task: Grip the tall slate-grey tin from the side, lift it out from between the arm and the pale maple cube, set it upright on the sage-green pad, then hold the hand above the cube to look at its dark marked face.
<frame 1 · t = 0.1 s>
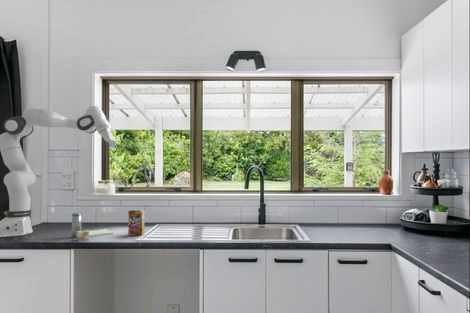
hand: (114, 147, 217), 54 cm above the counter, tool tilted 30°, fingers open, 8 cm apart
maple cube: (82, 240, 187), on the counter
pad: (97, 233, 205), on the counter
candy box: (136, 235, 201), on the counter
tin: (76, 237, 195), on the counter
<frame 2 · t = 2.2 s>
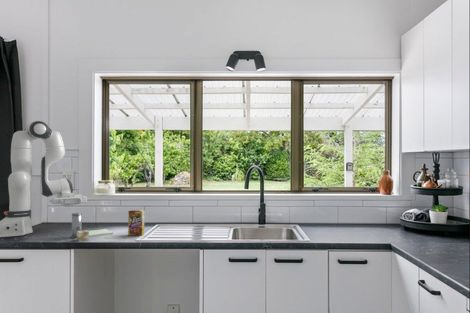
hand: (72, 201, 204), 20 cm above the counter, tool horizontal, fingers open, 8 cm apart
nothing on the counter moved.
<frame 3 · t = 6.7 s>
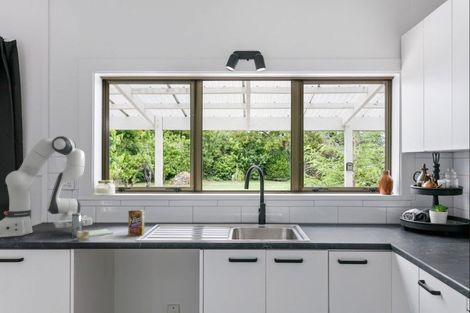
hand: (77, 224, 194), 8 cm above the counter, tool horizontal, fingers closed on tin, 5 cm apart
tin: (76, 237, 195), on the counter, touching gripper
everything else where it was.
when the fingers open (10 cm above the counter, at t = 11.2 s): tin drops 1 cm, resting on pad.
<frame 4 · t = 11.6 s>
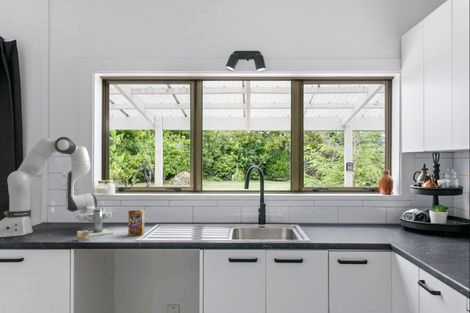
hand: (98, 217, 205), 10 cm above the counter, tool horizontal, fingers open, 8 cm apart
tin: (97, 231, 205), point 1 cm above the counter, touching pad
everything else where it was.
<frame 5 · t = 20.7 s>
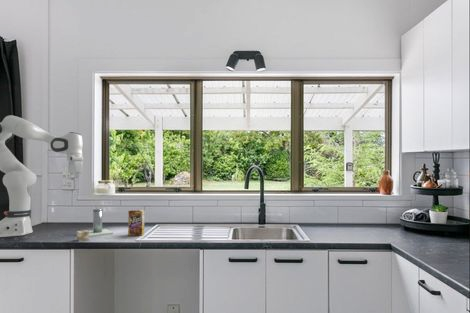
hand: (74, 180, 205), 33 cm above the counter, tool pointing down, fingers open, 8 cm apart
nothing on the counter moved.
at the end: tin inside the target area on the pad (0.1 cm from its centre), point 1.1 cm above the pad's base; tin tilted 1°; maple cube moved 0.1 cm from its start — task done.
